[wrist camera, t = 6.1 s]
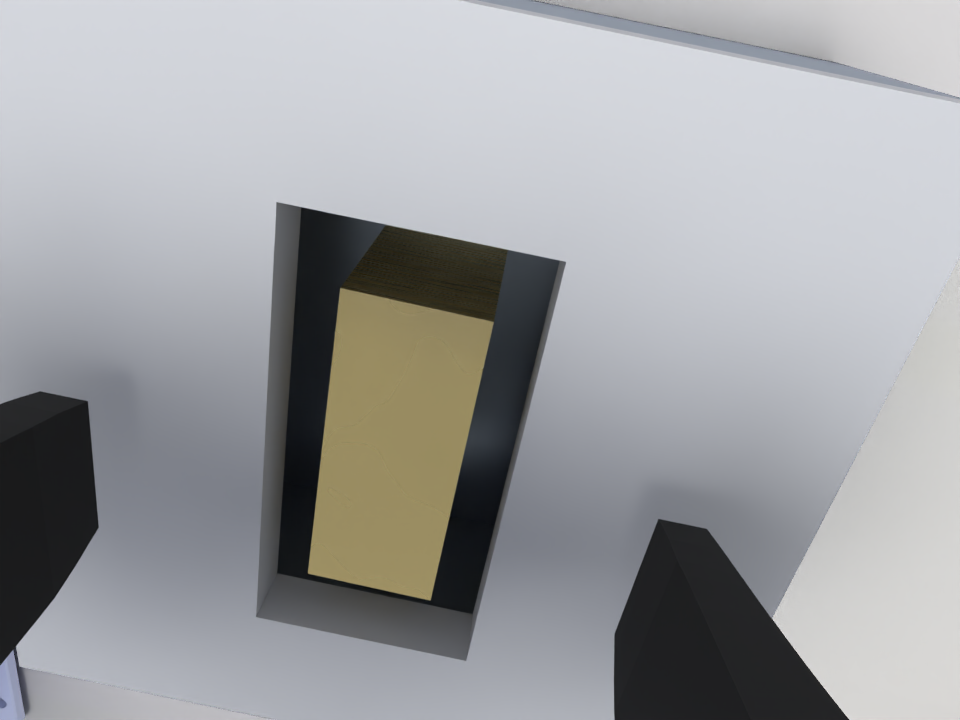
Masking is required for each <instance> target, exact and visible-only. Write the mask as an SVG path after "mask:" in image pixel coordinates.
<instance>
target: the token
mask: <svg viewBox="0 0 960 720" xmlns="http://www.w3.org/2000/svg"><path fill="white" fill-rule="evenodd" d="M507 252H508V250H507V249H502V248H497V247H492V246H487V245H482V244H478V243H473V242H468V241H463V240H458V239H453V238H449V237H444V236H439V235H434V234H429V233H424V232H419V231H415V230H410V229H405V228H400V227H395V226H390V225H386V226H385V227H384V228H383V230H382V231H381V232H380V234H379V235H378V237H377V238H376V239H375V241H374V242H373V244H372V245H371V246H370V248H369V249H368V250H367V252H366V253H365V255H364V256H363V257H362V259H361V260H360V261H359V263H358V264H357V266H356V267H355V268H354V270H353V271H352V273H351V274H350V275H349V277H348V278H347V279H346V281H345V282H344V284H343V285H342V286H341V288H340V295H339V304H338V312H337V321H336V330H335V339H334V348H333V356H332V365H331V374H330V383H329V392H328V400H327V409H326V418H325V427H324V436H323V444H322V453H321V462H320V471H319V480H318V488H317V497H316V506H315V515H314V524H313V532H312V541H311V550H310V559H309V567H308V574H312V575H317V576H321V577H326V578H330V579H335V580H339V581H344V582H348V583H353V584H357V585H362V586H367V587H371V588H376V589H380V590H385V591H389V592H394V593H398V594H403V595H407V596H412V597H417V598H421V599H426V600H430V601H431V596H432V592H433V587H434V583H435V579H436V574H437V570H438V565H439V561H440V557H441V552H442V548H443V543H444V539H445V535H446V530H447V526H448V521H449V517H450V513H451V508H452V504H453V499H454V495H455V491H456V486H457V482H458V477H459V473H460V469H461V464H462V460H463V455H464V451H465V447H466V442H467V438H468V433H469V429H470V425H471V420H472V416H473V411H474V407H475V403H476V398H477V394H478V389H479V385H480V381H481V376H482V372H483V367H484V363H485V359H486V354H487V350H488V345H489V341H490V337H491V332H492V328H493V323H494V318H495V313H496V308H497V303H498V298H499V293H500V288H501V283H502V278H503V273H504V268H505V263H506V257H507Z"/></svg>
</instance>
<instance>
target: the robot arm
mask: <svg viewBox="0 0 960 720" xmlns="http://www.w3.org/2000/svg"><path fill="white" fill-rule="evenodd" d="M98 528H99V524H98V512H97V501H96V489H95V477H94V466H93V454H92V442H91V431H90V419H89V408H88V401H85V400H80V399H75V398H71V397H66V396H61V395H56V394H51V393H46V392H42V391H39V392H36V393H32V394H29V395H26V396H23V397H19V398H16V399H13V400H10V401H7V402H4V403H2V404H0V720H25V713H24V708H23V702H22V696H21V691H20V685H19V679H18V674H17V668H16V663H15V657H14V651H13V649H14V648H15V647H16V646H17V644H18V643H19V642H20V641H21V640H22V638H23V637H24V636H25V635H26V633H27V632H28V631H29V630H30V628H31V627H32V626H33V625H34V623H35V622H36V621H37V620H38V619H39V617H40V616H41V615H42V614H43V612H44V611H45V610H46V608H47V607H48V606H49V605H50V603H51V602H52V601H53V600H54V598H55V597H56V595H57V594H58V592H59V591H60V589H61V588H62V586H63V585H64V583H65V582H66V580H67V578H68V577H69V575H70V574H71V572H72V571H73V569H74V568H75V566H76V565H77V563H78V561H79V560H80V558H81V556H82V555H83V553H84V551H85V550H86V548H87V546H88V545H89V543H90V541H91V540H92V538H93V536H94V535H95V533H96V531H97V530H98ZM614 717H615V720H849V719H848V718H847V717H846V715H845V714H844V713H843V712H842V710H841V709H840V708H839V707H838V705H837V704H836V703H835V702H834V700H833V699H832V698H831V696H830V695H829V694H828V693H827V691H826V690H825V689H824V688H823V686H822V685H821V684H820V682H819V681H818V680H817V679H816V677H815V676H814V675H813V673H812V672H811V671H810V669H809V668H808V667H807V666H806V664H805V663H804V662H803V660H802V659H801V658H800V656H799V655H798V654H797V652H796V651H795V650H794V648H793V647H792V646H791V644H790V643H789V642H788V640H787V639H786V637H785V636H784V635H783V633H782V632H781V631H780V629H779V628H778V627H777V625H776V624H775V622H774V621H773V620H772V618H771V617H770V616H769V614H768V613H767V611H766V610H765V609H764V607H763V606H762V604H761V603H760V602H759V600H758V599H757V598H756V596H755V595H754V593H753V592H752V591H751V589H750V588H749V586H748V585H747V584H746V582H745V581H744V579H743V578H742V576H741V575H740V574H739V572H738V571H737V569H736V568H735V567H734V565H733V564H732V562H731V561H730V560H729V558H728V557H727V555H726V554H725V553H724V551H723V550H722V548H721V547H720V546H719V544H718V543H717V542H716V540H715V539H714V538H713V536H712V535H711V534H710V532H709V531H708V530H707V529H706V528H701V527H696V526H691V525H686V524H681V523H676V522H672V521H667V520H662V519H658V521H657V524H656V526H655V529H654V532H653V534H652V537H651V539H650V542H649V545H648V547H647V550H646V553H645V555H644V558H643V560H642V563H641V566H640V568H639V571H638V574H637V576H636V579H635V581H634V584H633V587H632V589H631V592H630V594H629V597H628V600H627V602H626V605H625V608H624V610H623V613H622V615H621V618H620V621H619V623H618V626H617V629H616V631H615V634H614Z"/></svg>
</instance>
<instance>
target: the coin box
mask: <svg viewBox="0 0 960 720" xmlns="http://www.w3.org/2000/svg"><path fill="white" fill-rule="evenodd" d="M386 225H390V226H395V227H400V228H405V229H410V230H415V231H419V232H424V233H429V234H434V235H439V236H444V237H449V238H453V239H458V240H463V241H468V242H473V243H478V244H482V245H487V246H492V247H497V248H502V249H507V250H508V252H507V257H506V263H505V268H504V273H503V278H502V283H501V288H500V293H499V298H498V303H497V308H496V313H495V318H494V323H493V328H492V332H491V337H490V341H489V345H488V350H487V354H486V359H485V363H484V367H483V372H482V376H481V381H480V385H479V389H478V394H477V398H476V403H475V407H474V411H473V416H472V420H471V425H470V429H469V433H468V438H467V442H466V447H465V451H464V455H463V460H462V464H461V469H460V473H459V477H458V482H457V486H456V491H455V495H454V499H453V504H452V508H451V513H450V517H449V521H448V526H447V530H446V535H445V539H444V543H443V548H442V552H441V557H440V561H439V565H438V570H437V574H436V579H435V583H434V587H433V592H432V596H431V601H430V600H426V599H421V598H417V597H412V596H407V595H403V594H398V593H394V592H389V591H385V590H380V589H376V588H371V587H367V586H362V585H357V584H353V583H348V582H344V581H339V580H335V579H330V578H326V577H321V576H317V575H312V574H308V567H309V559H310V550H311V541H312V532H313V524H314V515H315V506H316V497H317V488H318V480H319V471H320V462H321V453H322V444H323V436H324V427H325V418H326V409H327V400H328V392H329V383H330V374H331V365H332V356H333V348H334V339H335V330H336V321H337V312H338V304H339V295H340V288H341V286H342V285H343V284H344V282H345V281H346V279H347V278H348V277H349V275H350V274H351V273H352V271H353V270H354V268H355V267H356V266H357V264H358V263H359V261H360V260H361V259H362V257H363V256H364V255H365V253H366V252H367V250H368V249H369V248H370V246H371V245H372V244H373V242H374V241H375V239H376V238H377V237H378V235H379V234H380V232H381V231H382V230H383V228H384V227H385V226H386ZM959 258H960V98H959V97H955V96H952V95H948V94H945V93H941V92H938V91H934V90H931V89H927V88H924V87H920V86H917V85H913V84H910V83H906V82H903V81H899V80H896V79H892V78H888V77H885V76H881V75H878V74H874V73H871V72H867V71H864V70H860V69H857V68H853V67H850V66H846V65H843V64H839V63H836V62H831V61H826V60H821V59H816V58H811V57H807V56H802V55H797V54H792V53H787V52H782V51H777V50H772V49H768V48H763V47H758V46H753V45H748V44H743V43H738V42H733V41H729V40H724V39H719V38H714V37H709V36H704V35H699V34H695V33H690V32H685V31H680V30H675V29H670V28H665V27H660V26H656V25H651V24H646V23H641V22H636V21H631V20H626V19H621V18H617V17H612V16H607V15H602V14H597V13H592V12H587V11H583V10H578V9H573V8H568V7H563V6H558V5H553V4H548V3H544V2H539V1H534V0H0V404H2V403H4V402H7V401H10V400H13V399H16V398H19V397H23V396H26V395H29V394H32V393H36V392H39V391H42V392H46V393H51V394H56V395H61V396H66V397H71V398H75V399H80V400H85V401H88V408H89V419H90V431H91V442H92V454H93V466H94V477H95V489H96V501H97V512H98V524H99V528H98V530H97V531H96V533H95V535H94V536H93V538H92V540H91V541H90V543H89V545H88V546H87V548H86V550H85V551H84V553H83V555H82V556H81V558H80V560H79V561H78V563H77V565H76V566H75V568H74V569H73V571H72V572H71V574H70V575H69V577H68V578H67V580H66V582H65V583H64V585H63V586H62V588H61V589H60V591H59V592H58V594H57V595H56V597H55V598H54V600H53V601H52V602H51V603H50V605H49V606H48V607H47V608H46V610H45V611H44V612H43V614H42V615H41V616H40V617H39V619H38V620H37V621H36V622H35V623H34V625H33V626H32V627H31V628H30V630H29V631H28V632H27V633H26V635H25V636H24V637H23V638H22V640H21V641H20V642H19V643H18V644H17V646H16V650H17V655H18V661H19V667H23V668H28V669H33V670H37V671H42V672H47V673H52V674H57V675H61V676H66V677H71V678H76V679H81V680H85V681H90V682H95V683H100V684H104V685H109V686H114V687H119V688H124V689H128V690H133V691H138V692H143V693H148V694H152V695H157V696H162V697H167V698H171V699H176V700H181V701H186V702H191V703H195V704H200V705H205V706H210V707H215V708H219V709H224V710H229V711H234V712H238V713H243V714H248V715H253V716H258V717H262V718H267V719H272V720H615V717H614V634H615V631H616V629H617V626H618V623H619V621H620V618H621V615H622V613H623V610H624V608H625V605H626V602H627V600H628V597H629V594H630V592H631V589H632V587H633V584H634V581H635V579H636V576H637V574H638V571H639V568H640V566H641V563H642V560H643V558H644V555H645V553H646V550H647V547H648V545H649V542H650V539H651V537H652V534H653V532H654V529H655V526H656V524H657V521H658V519H662V520H667V521H672V522H676V523H681V524H686V525H691V526H696V527H701V528H706V529H707V530H708V531H709V532H710V534H711V535H712V536H713V538H714V539H715V540H716V542H717V543H718V544H719V546H720V547H721V548H722V550H723V551H724V553H725V554H726V555H727V557H728V558H729V560H730V561H731V562H732V564H733V565H734V567H735V568H736V569H737V571H738V572H739V574H740V575H741V576H742V578H743V579H744V581H745V582H746V584H747V585H748V586H749V588H750V589H751V591H752V592H753V593H754V595H755V596H756V598H757V599H758V600H759V602H760V603H761V604H762V606H763V607H764V609H765V610H766V611H767V613H768V614H769V616H770V617H771V618H772V617H773V615H774V613H775V611H776V609H777V607H778V606H779V604H780V602H781V600H782V598H783V596H784V594H785V592H786V590H787V588H788V586H789V584H790V582H791V581H792V579H793V577H794V575H795V573H796V571H797V569H798V567H799V565H800V563H801V561H802V559H803V558H804V556H805V554H806V552H807V550H808V548H809V546H810V544H811V542H812V540H813V538H814V536H815V534H816V533H817V531H818V529H819V527H820V525H821V523H822V521H823V519H824V517H825V515H826V513H827V511H828V509H829V508H830V506H831V504H832V502H833V500H834V498H835V496H836V494H837V492H838V490H839V488H840V486H841V484H842V483H843V481H844V479H845V477H846V475H847V473H848V471H849V469H850V467H851V465H852V463H853V461H854V460H855V458H856V456H857V454H858V452H859V450H860V448H861V446H862V444H863V442H864V440H865V438H866V436H867V435H868V433H869V431H870V429H871V427H872V425H873V423H874V421H875V419H876V417H877V415H878V413H879V411H880V410H881V408H882V406H883V404H884V402H885V400H886V398H887V396H888V394H889V392H890V390H891V388H892V386H893V385H894V383H895V381H896V379H897V377H898V375H899V373H900V371H901V369H902V367H903V365H904V363H905V361H906V360H907V358H908V356H909V354H910V352H911V350H912V348H913V346H914V344H915V342H916V340H917V338H918V337H919V335H920V333H921V331H922V329H923V327H924V325H925V323H926V321H927V319H928V317H929V315H930V313H931V312H932V310H933V308H934V306H935V304H936V302H937V300H938V298H939V296H940V294H941V292H942V290H943V288H944V287H945V285H946V283H947V281H948V279H949V277H950V275H951V273H952V271H953V269H954V267H955V265H956V263H957V262H958V260H959Z"/></svg>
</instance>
